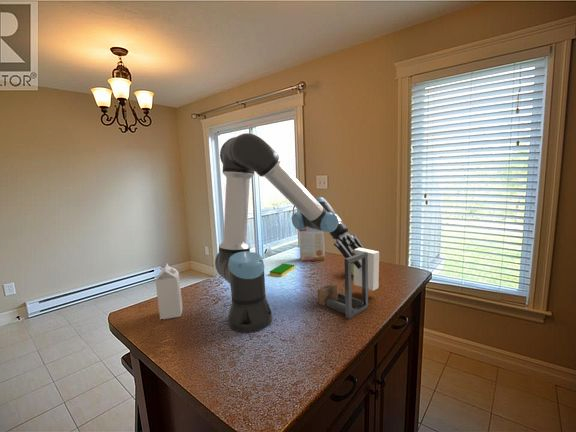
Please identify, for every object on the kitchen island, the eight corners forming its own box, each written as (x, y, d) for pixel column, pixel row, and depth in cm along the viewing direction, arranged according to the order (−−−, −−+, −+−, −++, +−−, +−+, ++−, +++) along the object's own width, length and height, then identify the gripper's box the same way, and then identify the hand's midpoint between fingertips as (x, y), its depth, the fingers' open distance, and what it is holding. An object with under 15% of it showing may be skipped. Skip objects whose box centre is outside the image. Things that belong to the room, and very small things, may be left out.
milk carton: (160, 320, 101) (153, 270, 99) (163, 311, 108) (157, 264, 105) (180, 316, 103) (175, 267, 100) (182, 308, 110) (177, 261, 107)
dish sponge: (294, 268, 151) (294, 264, 150) (281, 277, 139) (281, 273, 138) (283, 267, 154) (283, 263, 154) (269, 275, 142) (269, 271, 142)
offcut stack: (323, 305, 107) (323, 290, 106) (318, 303, 109) (317, 288, 108) (337, 298, 112) (336, 284, 111) (331, 296, 114) (330, 282, 113)
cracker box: (324, 257, 166) (323, 223, 163) (324, 260, 160) (323, 224, 157) (300, 258, 168) (299, 223, 165) (300, 261, 162) (298, 225, 159)
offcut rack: (349, 319, 96) (348, 259, 93) (323, 308, 104) (321, 253, 101) (368, 307, 103) (367, 252, 100) (342, 298, 112) (341, 247, 109)
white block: (373, 290, 110) (373, 253, 107) (353, 284, 116) (353, 249, 114) (378, 287, 112) (379, 251, 110) (359, 281, 119) (359, 247, 116)
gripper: (343, 229, 130) (375, 271, 120) (318, 236, 119) (351, 283, 109) (352, 219, 125) (387, 262, 115) (327, 225, 114) (363, 273, 104)
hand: (369, 272), depth 112 cm, fingers closed on white block, 4 cm apart
